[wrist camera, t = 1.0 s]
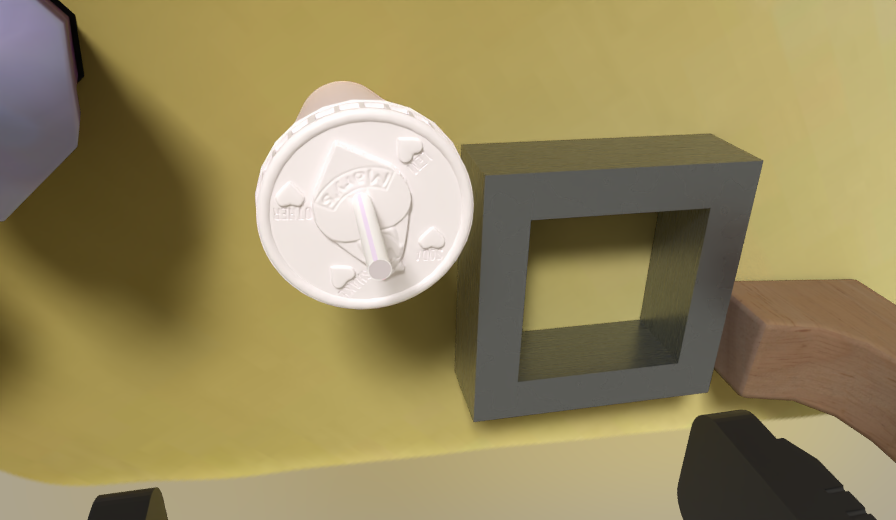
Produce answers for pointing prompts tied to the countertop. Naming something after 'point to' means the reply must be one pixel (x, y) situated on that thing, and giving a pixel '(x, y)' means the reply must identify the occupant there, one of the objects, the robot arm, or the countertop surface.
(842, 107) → the countertop surface
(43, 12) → the potion bottle
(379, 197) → the smoothie
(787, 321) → the wooden block
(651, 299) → the frame
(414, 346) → the countertop surface
